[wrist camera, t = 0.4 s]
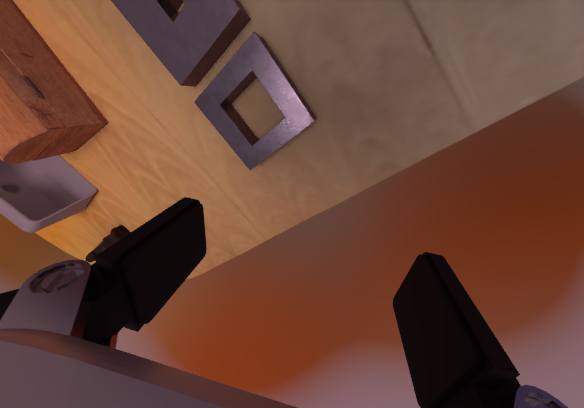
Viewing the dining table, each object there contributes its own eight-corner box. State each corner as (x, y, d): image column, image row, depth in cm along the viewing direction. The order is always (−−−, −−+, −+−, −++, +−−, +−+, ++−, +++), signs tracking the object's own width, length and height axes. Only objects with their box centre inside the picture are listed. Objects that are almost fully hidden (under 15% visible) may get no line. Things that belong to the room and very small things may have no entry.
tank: (-5, 149, 54) (-93, 163, 43) (5, 106, 47) (-96, 109, 36) (80, 219, 60) (22, 247, 49) (100, 190, 53) (38, 215, 42)
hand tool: (123, 222, 57) (106, 232, 53) (134, 233, 58) (118, 244, 54) (93, 246, 65) (76, 256, 61) (103, 255, 66) (87, 265, 62)
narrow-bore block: (180, -87, 27) (157, -114, 24) (250, 19, 31) (239, 9, 27) (131, 6, 33) (107, -4, 30) (195, 86, 37) (180, 85, 33)
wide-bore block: (263, 38, 32) (254, 31, 28) (316, 118, 35) (314, 120, 32) (207, 101, 37) (194, 102, 34) (257, 164, 41) (250, 170, 38)
